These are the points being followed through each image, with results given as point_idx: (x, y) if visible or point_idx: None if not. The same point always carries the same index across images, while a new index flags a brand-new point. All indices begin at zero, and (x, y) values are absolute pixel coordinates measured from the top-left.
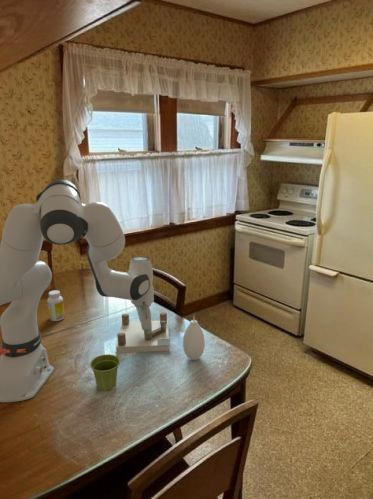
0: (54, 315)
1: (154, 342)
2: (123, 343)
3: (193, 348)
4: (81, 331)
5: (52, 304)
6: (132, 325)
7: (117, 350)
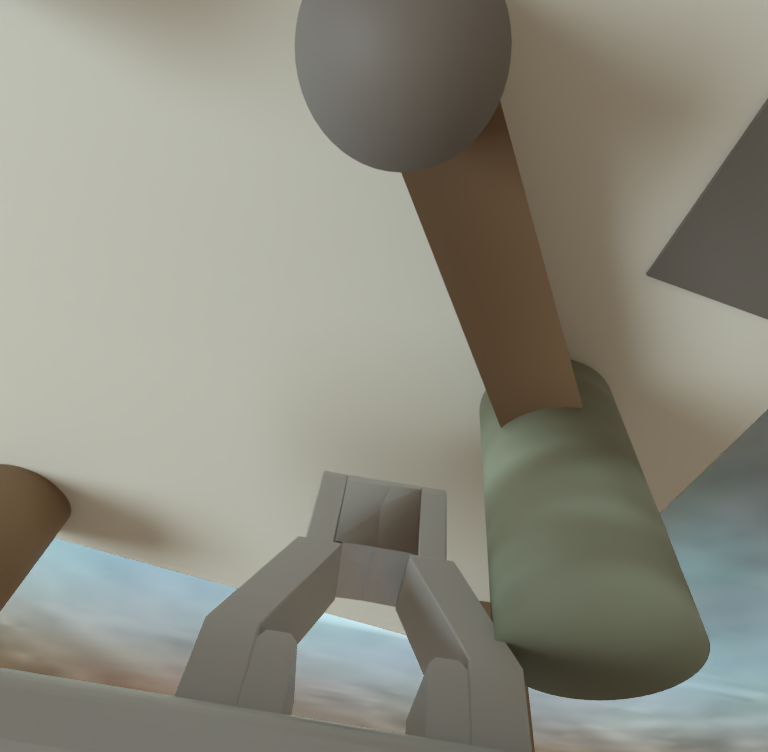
0: None
1: (706, 353)
2: None
3: None
4: (99, 662)
5: None
6: (73, 451)
7: None
